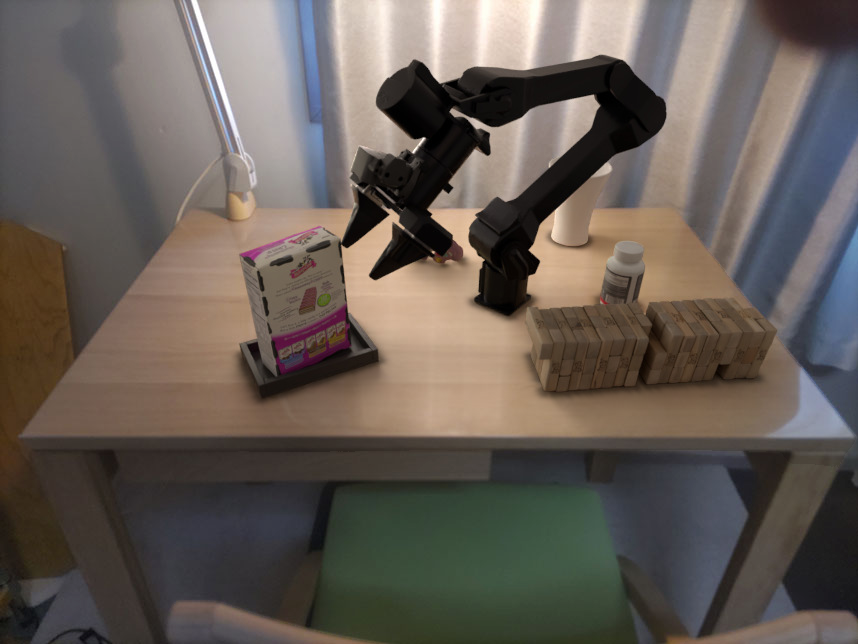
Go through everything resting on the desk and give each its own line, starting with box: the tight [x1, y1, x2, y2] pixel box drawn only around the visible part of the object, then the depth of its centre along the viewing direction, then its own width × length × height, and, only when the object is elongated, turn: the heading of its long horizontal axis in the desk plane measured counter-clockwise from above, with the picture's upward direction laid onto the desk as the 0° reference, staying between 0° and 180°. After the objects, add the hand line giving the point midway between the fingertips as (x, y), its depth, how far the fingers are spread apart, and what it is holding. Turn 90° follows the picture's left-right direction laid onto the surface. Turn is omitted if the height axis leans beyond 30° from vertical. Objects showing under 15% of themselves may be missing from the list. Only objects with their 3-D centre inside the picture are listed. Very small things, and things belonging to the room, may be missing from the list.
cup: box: [548, 155, 614, 247], centre depth 105 cm, size 10×10×14 cm
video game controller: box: [420, 239, 464, 265], centre depth 100 cm, size 10×5×7 cm, turn 68°
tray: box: [238, 312, 379, 399], centre depth 79 cm, size 16×10×2 cm, turn 118°
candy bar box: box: [238, 225, 352, 377], centre depth 74 cm, size 11×5×16 cm, turn 131°
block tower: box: [524, 296, 778, 393], centre depth 76 cm, size 8×8×29 cm
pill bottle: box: [599, 240, 646, 305], centre depth 88 cm, size 5×5×10 cm
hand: (357, 261), depth 75 cm, fingers open, 9 cm apart
